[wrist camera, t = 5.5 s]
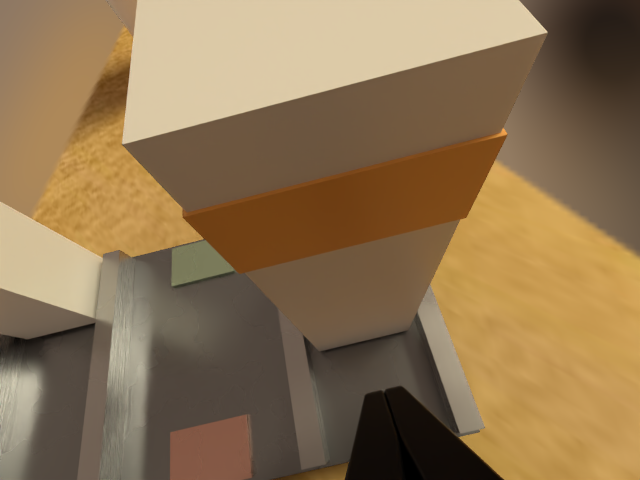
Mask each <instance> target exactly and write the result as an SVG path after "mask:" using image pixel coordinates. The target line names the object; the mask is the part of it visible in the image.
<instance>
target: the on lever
mask: <svg viewBox="0 0 640 480" xmlns="http://www.w3.org/2000/svg"><path fill="white" fill-rule="evenodd" d="M102 262H103V258H101V257H100V256H98V255H96V254H94V253H92V252H91V251H89V250H87V249H85V248H83V247H81V246H80V245H78V244H76V243H74V242H72V241H71V240H69V239H67V238H65V237H63V236H62V235H60V234H58V233H56V232H54V231H52V230H51V229H49V228H47V227H45V226H43V225H42V224H40V223H38V222H36V221H34V220H33V219H31V218H29V217H27V216H25V215H24V214H22V213H20V212H18V211H16V210H14V209H12V208H11V207H9V206H7V205H5V204H4V203H2V202H0V334H3V335H8V336H13V337H19V338H24V339H31V338H35V337H39V336H43V335H47V334H51V333H55V332H59V331H64V330H68V329H72V328H76V327H80V326H84V325H88V324H92V323H95V322H96V314H97V305H98V297H99V288H100V279H101V271H102Z"/></svg>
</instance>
